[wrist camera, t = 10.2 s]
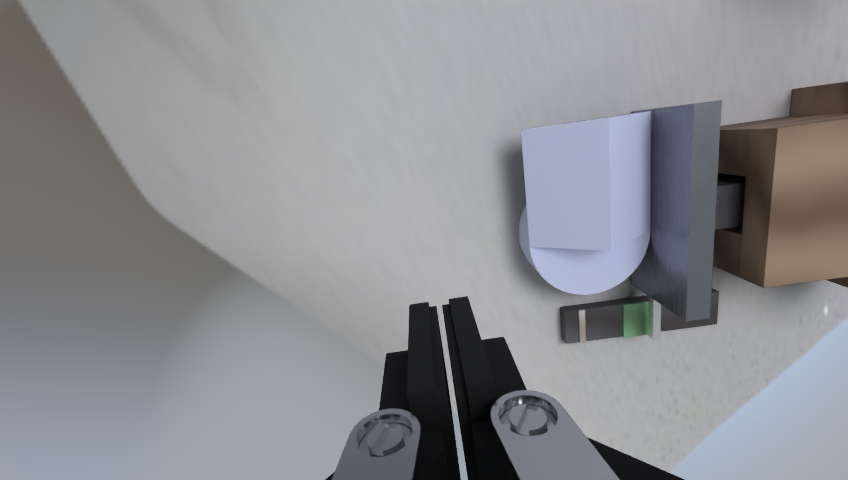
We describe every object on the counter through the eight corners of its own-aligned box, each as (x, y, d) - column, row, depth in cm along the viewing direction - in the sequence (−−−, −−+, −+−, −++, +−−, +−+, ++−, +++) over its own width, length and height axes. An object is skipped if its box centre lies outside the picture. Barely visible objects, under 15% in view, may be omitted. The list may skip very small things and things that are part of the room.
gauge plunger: (630, 111, 30) (694, 104, 23) (769, 92, 30) (874, 79, 23) (631, 326, 34) (684, 373, 27) (751, 311, 34) (834, 354, 27)
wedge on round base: (509, 130, 30) (522, 286, 34) (534, 128, 24) (547, 321, 27) (626, 113, 30) (627, 271, 34) (683, 107, 24) (678, 303, 27)
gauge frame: (550, 123, 30) (596, 117, 23) (845, 81, 30) (995, 62, 22) (561, 337, 35) (603, 394, 27) (817, 304, 35) (932, 352, 27)
